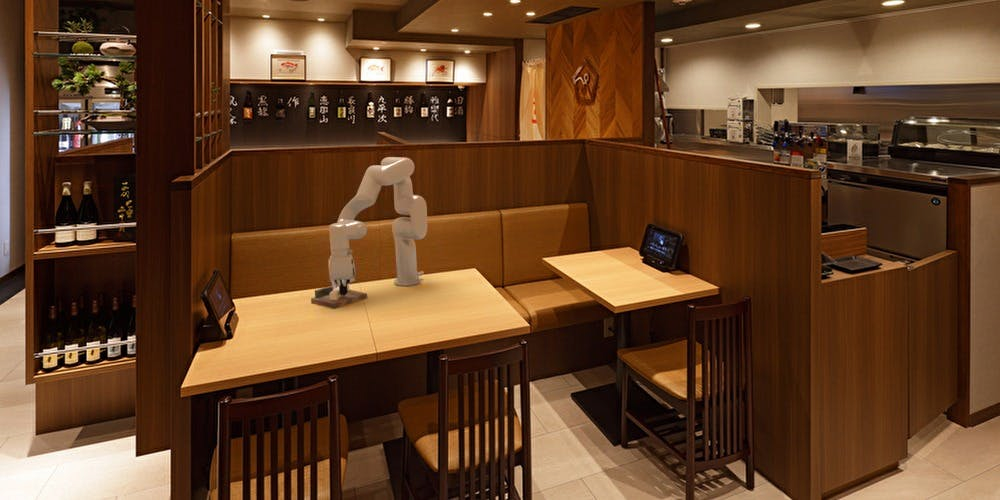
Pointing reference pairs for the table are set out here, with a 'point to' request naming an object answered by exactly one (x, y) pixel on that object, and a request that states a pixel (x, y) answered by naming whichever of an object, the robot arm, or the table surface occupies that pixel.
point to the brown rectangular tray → (324, 299)
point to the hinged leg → (336, 293)
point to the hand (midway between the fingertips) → (343, 294)
